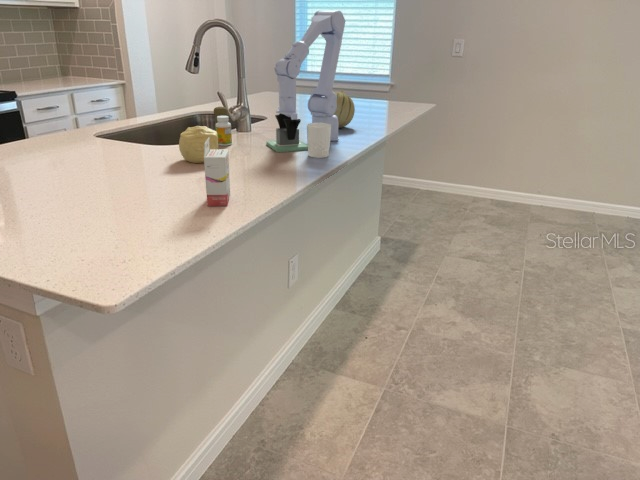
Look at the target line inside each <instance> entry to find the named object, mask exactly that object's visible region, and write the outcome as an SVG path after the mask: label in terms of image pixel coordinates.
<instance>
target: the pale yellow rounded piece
mask: <svg viewBox="0 0 640 480" xmlns="http://www.w3.org/2000/svg"><path fill="white" fill-rule="evenodd" d="M208 138H210V140H209V150H210V149H219V145H218V135H217V132H216V131H215V129H212V128H209V127H207V126H205V125H203V126H202V125H201V126H200V125H196V126H191V127H190V126H188V127H187V128H186V129H185V131H182V132H181V133H180V137H179V141H178V147H179V151H180V155H181V156H182V157H183V159H184V160H185V161H187V162H189V163H194V164H200V163H202V164H204V143H205V142H206V140H207V139H208ZM206 148H207V147H206Z"/></svg>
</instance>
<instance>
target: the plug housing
mask: <svg viewBox="0 0 640 480" xmlns="http://www.w3.org/2000/svg"><path fill="white" fill-rule="evenodd" d="M275 135H276V136H275V137H276V138H275V139H276V140H275V141H276V143H277V144H279V145H292V144H299V140H300V129H299V128H297V131H296V136H295V139H294V140H288V137H287V129H286V128H279V127H278V128H275Z"/></svg>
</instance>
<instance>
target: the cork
mask: <svg viewBox="0 0 640 480" xmlns="http://www.w3.org/2000/svg"><path fill="white" fill-rule="evenodd" d="M228 114H229V110H228V108H227V107H225V106H217V107H214V109H213V115H214V116H215V117H214V118H215V119H214V131H216V126H215V125H216V123H218V121H217V116H229V115H228Z"/></svg>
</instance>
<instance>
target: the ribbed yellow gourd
mask: <svg viewBox="0 0 640 480" xmlns="http://www.w3.org/2000/svg"><path fill="white" fill-rule="evenodd" d="M334 93H335V94H336V95H337V109H336V111H335V113H334V114H333V115H336V116H337V118H338V123H339V125H338V129H341V127H342V128H345V127H346V126H348V125H349V124H350V123H351V122H352V121H353V118H354V115H355V113H356V109H355V108H356V107H355V103H354V100H353V99H352V97H350V96H349V95H348V94H346V93H344V90H342V89H340V91H334ZM324 97H326V96H324Z"/></svg>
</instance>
